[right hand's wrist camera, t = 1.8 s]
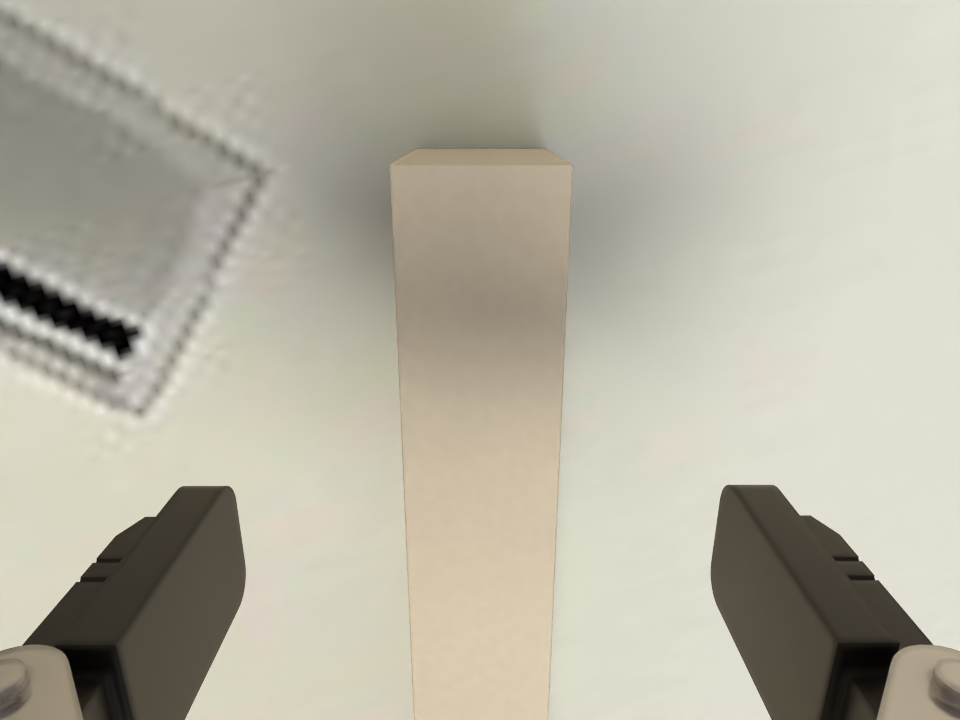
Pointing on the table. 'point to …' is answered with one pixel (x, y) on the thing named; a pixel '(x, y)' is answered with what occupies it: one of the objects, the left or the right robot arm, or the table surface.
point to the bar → (481, 420)
